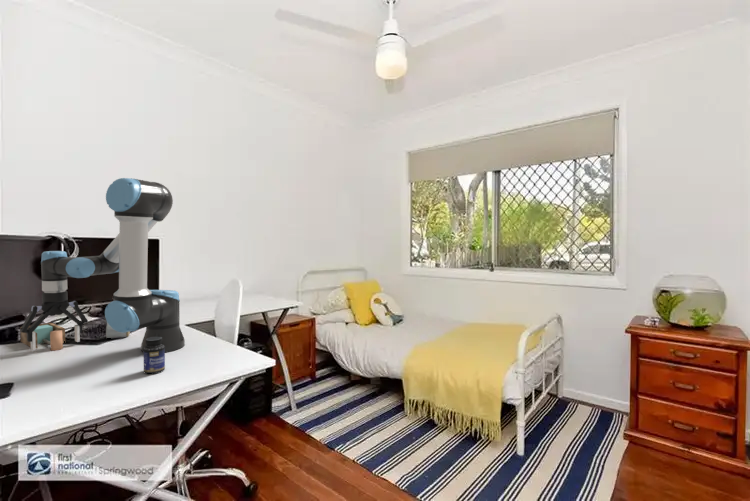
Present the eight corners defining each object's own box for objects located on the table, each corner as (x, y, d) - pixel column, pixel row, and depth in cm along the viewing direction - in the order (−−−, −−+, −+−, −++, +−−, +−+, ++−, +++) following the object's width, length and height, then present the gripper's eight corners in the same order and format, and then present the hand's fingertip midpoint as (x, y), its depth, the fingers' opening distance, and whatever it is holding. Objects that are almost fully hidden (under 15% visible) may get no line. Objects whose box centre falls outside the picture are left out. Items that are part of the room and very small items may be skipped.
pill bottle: (149, 376, 121) (149, 342, 121) (139, 372, 125) (139, 339, 124) (168, 370, 127) (168, 337, 126) (158, 366, 130) (158, 334, 129)
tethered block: (68, 348, 148) (67, 330, 148) (48, 352, 143) (48, 333, 143) (47, 338, 160) (47, 322, 160) (29, 341, 155) (28, 325, 155)
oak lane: (65, 342, 155) (64, 328, 155) (33, 348, 147) (33, 333, 146) (51, 336, 164) (50, 322, 163) (20, 341, 155) (20, 327, 155)
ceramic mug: (128, 338, 162) (128, 320, 162) (105, 340, 158) (105, 322, 158) (131, 332, 171) (131, 316, 171) (109, 334, 168) (109, 317, 167)
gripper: (89, 286, 158) (90, 336, 159) (7, 294, 137) (9, 351, 138) (96, 288, 154) (97, 339, 155) (14, 296, 133) (15, 355, 134)
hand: (56, 345), depth 147 cm, fingers open, 13 cm apart
